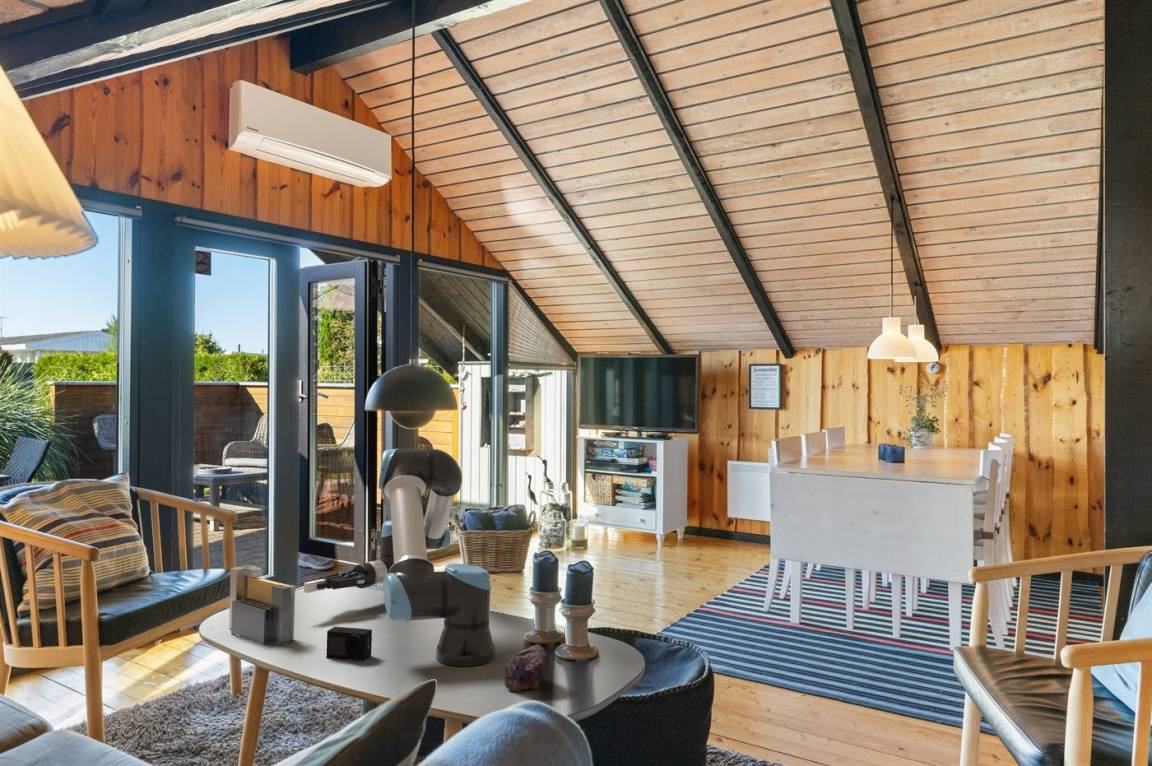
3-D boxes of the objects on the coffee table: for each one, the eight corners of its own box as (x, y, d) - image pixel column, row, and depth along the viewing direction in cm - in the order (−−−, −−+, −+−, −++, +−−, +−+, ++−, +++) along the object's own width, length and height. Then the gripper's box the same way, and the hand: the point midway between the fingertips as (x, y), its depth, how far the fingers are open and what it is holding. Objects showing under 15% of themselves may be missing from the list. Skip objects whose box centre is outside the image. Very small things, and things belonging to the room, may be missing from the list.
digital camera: (323, 659, 200) (324, 632, 200) (333, 653, 205) (334, 625, 205) (361, 663, 198) (362, 635, 198) (371, 656, 203) (372, 629, 203)
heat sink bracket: (300, 640, 214) (302, 577, 214) (273, 648, 207) (275, 583, 207) (248, 623, 228) (250, 564, 228) (221, 630, 221) (223, 569, 221)
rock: (499, 694, 183) (535, 702, 178) (496, 659, 182) (532, 666, 177) (527, 671, 193) (562, 679, 188) (524, 638, 192) (559, 644, 187)
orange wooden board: (295, 638, 214) (297, 586, 214) (287, 640, 212) (289, 588, 212) (252, 625, 225) (254, 575, 225) (244, 627, 223) (246, 577, 223)
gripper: (382, 589, 246) (319, 604, 226) (355, 583, 253) (291, 597, 234) (383, 565, 246) (320, 578, 226) (355, 559, 253) (292, 571, 234)
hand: (305, 587), depth 230 cm, fingers closed
